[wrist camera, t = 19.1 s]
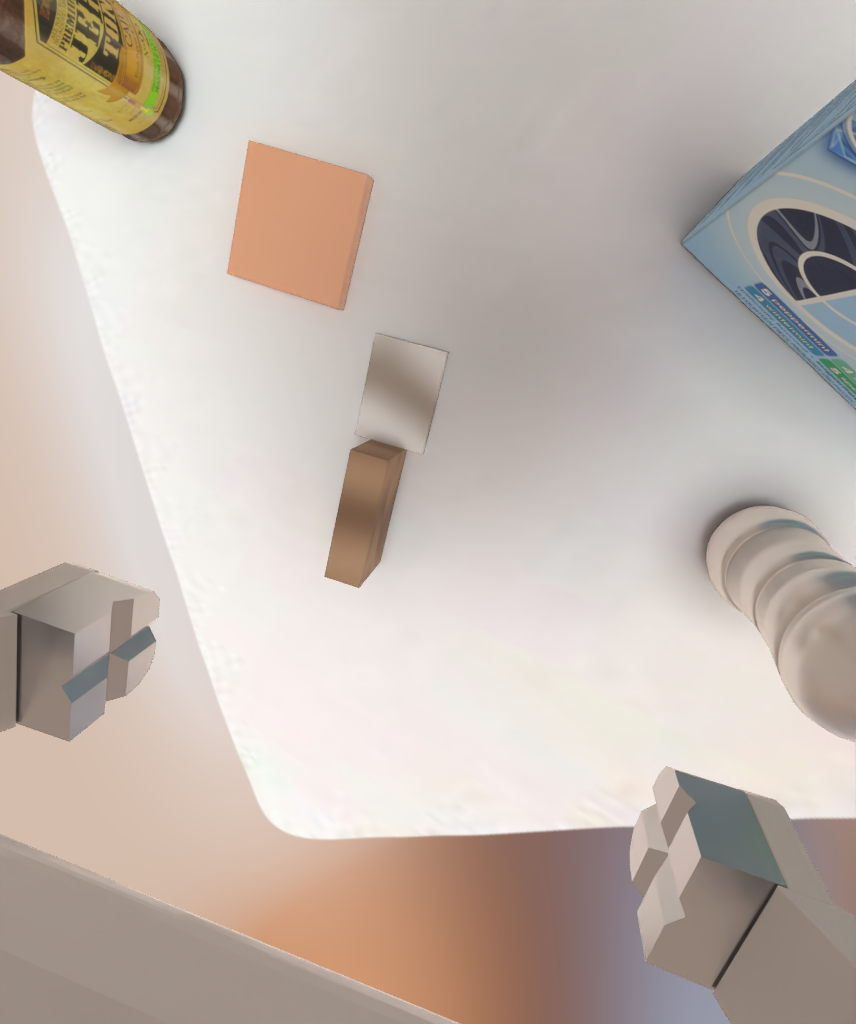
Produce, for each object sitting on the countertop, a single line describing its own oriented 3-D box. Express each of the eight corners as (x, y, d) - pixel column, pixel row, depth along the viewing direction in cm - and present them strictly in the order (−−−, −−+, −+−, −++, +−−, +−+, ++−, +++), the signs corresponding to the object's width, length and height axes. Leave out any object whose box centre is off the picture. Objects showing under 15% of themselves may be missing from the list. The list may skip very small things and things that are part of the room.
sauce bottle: (202, 131, 37) (-158, -97, 18) (122, 157, 38) (-287, -28, 20) (173, 17, 35) (-250, -360, 17) (91, 49, 37) (-382, -264, 18)
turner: (395, 566, 43) (376, 593, 38) (333, 546, 43) (307, 570, 38) (448, 352, 38) (434, 352, 33) (378, 333, 38) (354, 331, 33)
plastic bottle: (828, 519, 36) (1143, 708, 17) (772, 609, 38) (996, 866, 19) (727, 482, 36) (923, 625, 17) (679, 573, 38) (805, 787, 20)
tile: (227, 273, 38) (248, 140, 35) (239, 276, 39) (261, 149, 37) (336, 308, 37) (367, 174, 34) (345, 310, 39) (375, 182, 36)
